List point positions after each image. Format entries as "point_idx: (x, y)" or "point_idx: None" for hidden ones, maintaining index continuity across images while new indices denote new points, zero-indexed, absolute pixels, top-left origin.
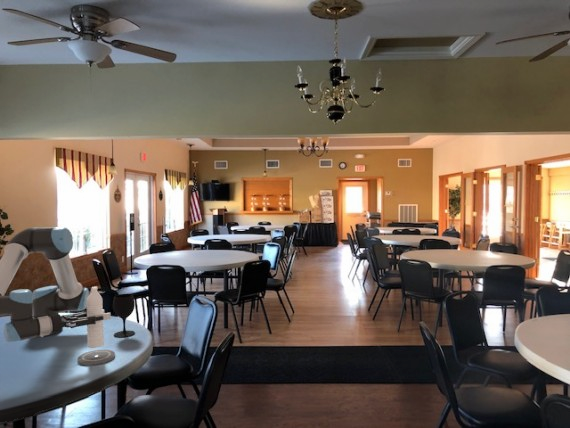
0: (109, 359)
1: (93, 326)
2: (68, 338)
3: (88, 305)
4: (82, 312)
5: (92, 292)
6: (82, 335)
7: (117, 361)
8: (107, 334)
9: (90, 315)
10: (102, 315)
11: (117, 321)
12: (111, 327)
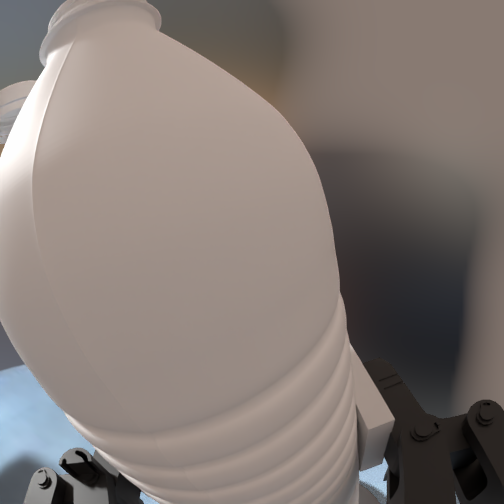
0: (366, 491)
1: (354, 501)
2: (3, 493)
3: (237, 390)
4: (46, 499)
5: (122, 25)
6: (17, 463)
7: (382, 465)
8: (70, 425)
9: (329, 485)
10: (356, 363)
11: (32, 374)
12: (43, 397)
